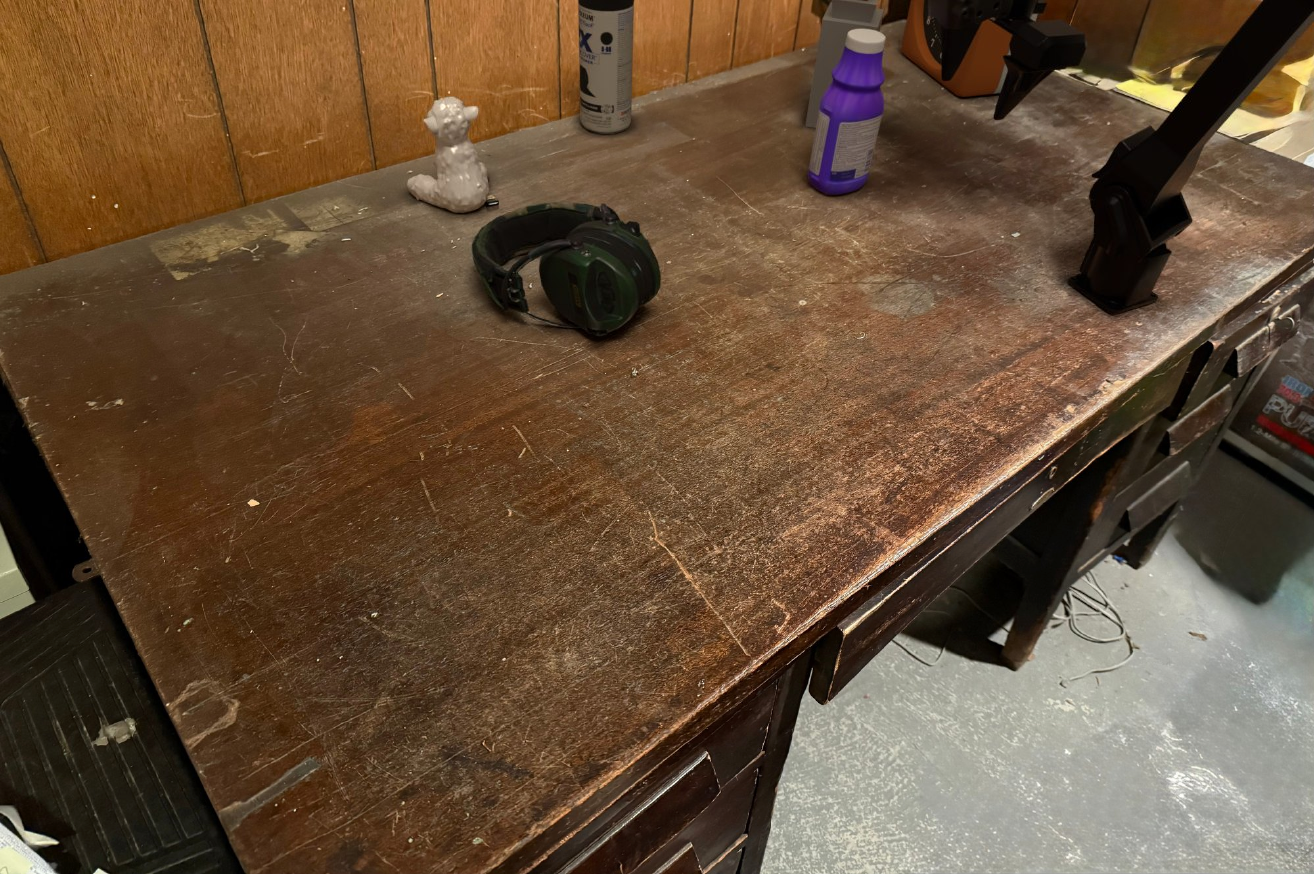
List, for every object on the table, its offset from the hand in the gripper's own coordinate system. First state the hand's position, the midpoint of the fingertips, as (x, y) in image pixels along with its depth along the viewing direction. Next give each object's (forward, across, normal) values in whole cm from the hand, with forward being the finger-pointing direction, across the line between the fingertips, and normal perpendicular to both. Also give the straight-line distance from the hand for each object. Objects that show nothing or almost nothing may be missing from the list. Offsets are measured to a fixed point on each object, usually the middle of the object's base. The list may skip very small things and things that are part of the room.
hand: (971, 99), depth 94 cm
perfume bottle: (+14, -24, +1) cm, 28 cm away
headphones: (+15, +3, -45) cm, 48 cm away
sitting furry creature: (+16, -19, -51) cm, 56 cm away
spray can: (+16, -32, -28) cm, 46 cm away
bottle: (+14, -8, -8) cm, 18 cm away
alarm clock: (+14, -33, +26) cm, 44 cm away
